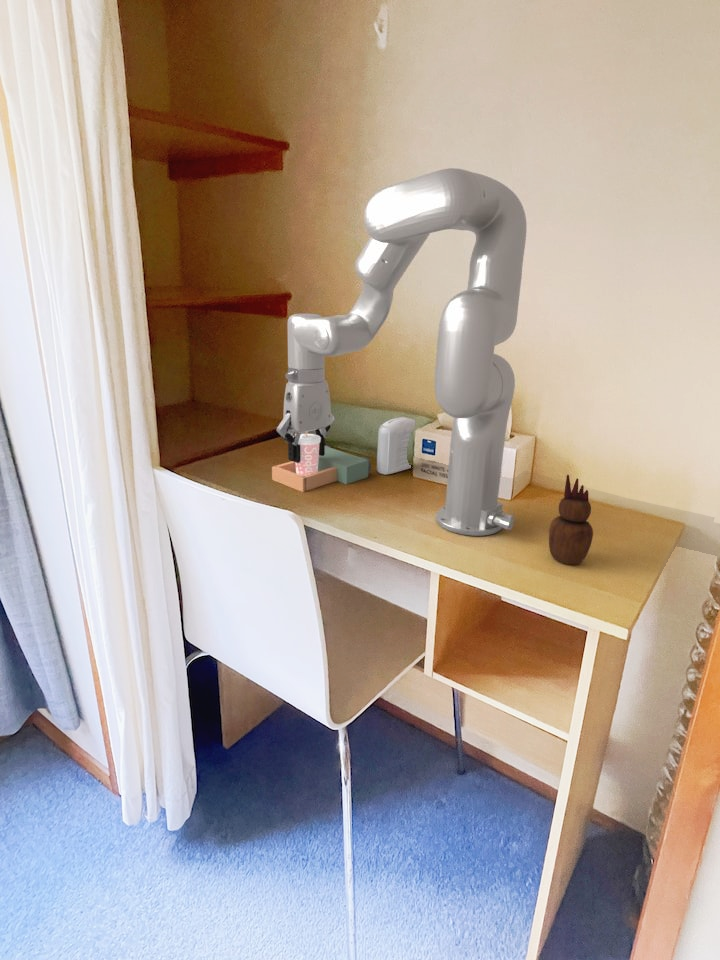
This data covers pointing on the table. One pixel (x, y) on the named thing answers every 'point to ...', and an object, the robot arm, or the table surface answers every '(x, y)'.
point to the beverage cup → (308, 454)
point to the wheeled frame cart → (324, 471)
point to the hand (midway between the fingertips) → (306, 457)
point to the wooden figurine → (571, 527)
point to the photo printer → (394, 445)
